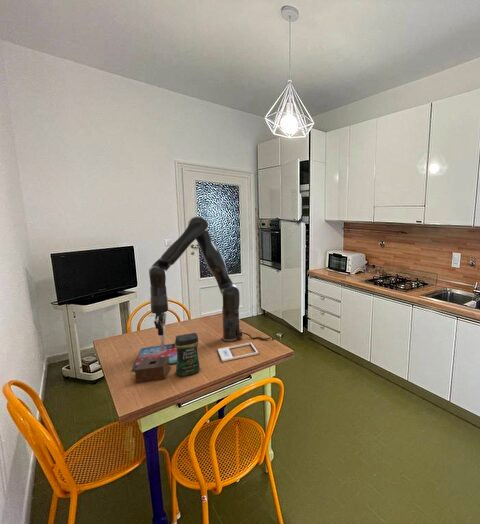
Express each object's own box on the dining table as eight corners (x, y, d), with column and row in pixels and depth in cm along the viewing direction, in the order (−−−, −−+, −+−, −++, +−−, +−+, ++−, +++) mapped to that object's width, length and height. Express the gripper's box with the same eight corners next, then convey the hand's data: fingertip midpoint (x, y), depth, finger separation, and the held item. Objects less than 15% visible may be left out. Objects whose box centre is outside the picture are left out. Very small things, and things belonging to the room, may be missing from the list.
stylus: (164, 349, 158) (165, 324, 156) (163, 351, 156) (164, 325, 154) (161, 349, 157) (161, 324, 155) (160, 351, 156) (161, 325, 154)
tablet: (133, 371, 136) (132, 369, 136) (141, 349, 158) (141, 348, 158) (180, 362, 145) (180, 361, 145) (182, 343, 167) (182, 342, 167)
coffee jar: (177, 379, 131) (175, 339, 128) (175, 371, 137) (173, 333, 135) (201, 372, 137) (199, 335, 134) (198, 365, 143) (196, 329, 141)
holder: (169, 367, 141) (168, 355, 140) (164, 378, 131) (163, 366, 130) (143, 370, 137) (142, 358, 136) (135, 382, 127) (134, 369, 126)
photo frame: (217, 348, 159) (251, 342, 169) (217, 350, 160) (251, 344, 169) (222, 359, 147) (258, 352, 157) (222, 361, 147) (258, 354, 157)
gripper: (164, 306, 148) (166, 338, 150) (170, 299, 160) (172, 329, 163) (146, 307, 145) (149, 340, 148) (154, 299, 158) (156, 330, 160)
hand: (161, 334), depth 155 cm, fingers closed on stylus, 1 cm apart
